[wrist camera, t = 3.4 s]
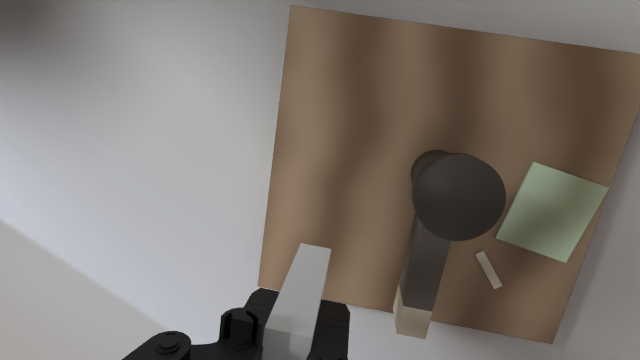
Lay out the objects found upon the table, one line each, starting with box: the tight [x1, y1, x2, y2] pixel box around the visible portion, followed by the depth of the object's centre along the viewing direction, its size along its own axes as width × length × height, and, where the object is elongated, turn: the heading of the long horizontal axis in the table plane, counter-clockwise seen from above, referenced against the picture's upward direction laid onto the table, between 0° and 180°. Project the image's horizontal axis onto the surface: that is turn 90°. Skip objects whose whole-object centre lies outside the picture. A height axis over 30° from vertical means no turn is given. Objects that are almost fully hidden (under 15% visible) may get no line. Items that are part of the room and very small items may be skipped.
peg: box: [393, 150, 506, 339], centre depth 22 cm, size 12×4×6 cm, turn 171°
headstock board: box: [258, 5, 640, 344], centre depth 25 cm, size 22×20×2 cm
